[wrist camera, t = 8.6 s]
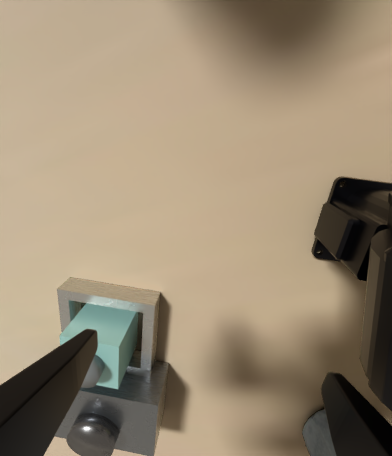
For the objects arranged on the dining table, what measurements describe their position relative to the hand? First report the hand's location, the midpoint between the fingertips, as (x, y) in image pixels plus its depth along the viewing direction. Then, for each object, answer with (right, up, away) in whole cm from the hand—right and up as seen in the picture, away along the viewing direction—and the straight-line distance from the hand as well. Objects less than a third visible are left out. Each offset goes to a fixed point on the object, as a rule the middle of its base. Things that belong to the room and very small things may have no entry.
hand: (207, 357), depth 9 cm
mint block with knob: (-9, -5, +16) cm, 19 cm away
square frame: (-9, -8, +17) cm, 21 cm away
